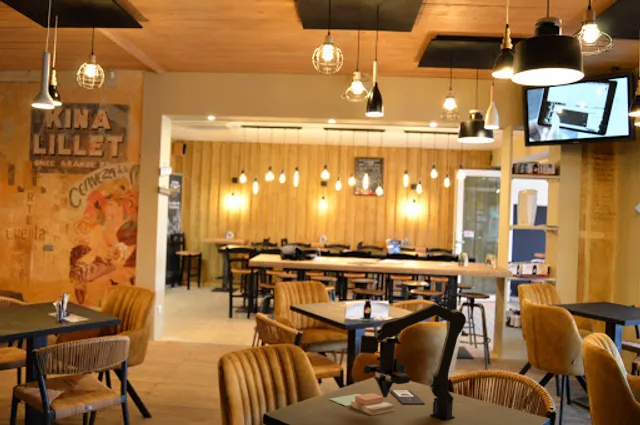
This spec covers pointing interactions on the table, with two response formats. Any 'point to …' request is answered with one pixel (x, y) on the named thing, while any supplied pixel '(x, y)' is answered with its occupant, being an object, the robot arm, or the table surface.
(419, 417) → the table surface
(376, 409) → the beige square slab
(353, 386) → the table surface
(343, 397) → the mat
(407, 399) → the chocolate bar
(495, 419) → the table surface
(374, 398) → the salmon orange rectangular block
